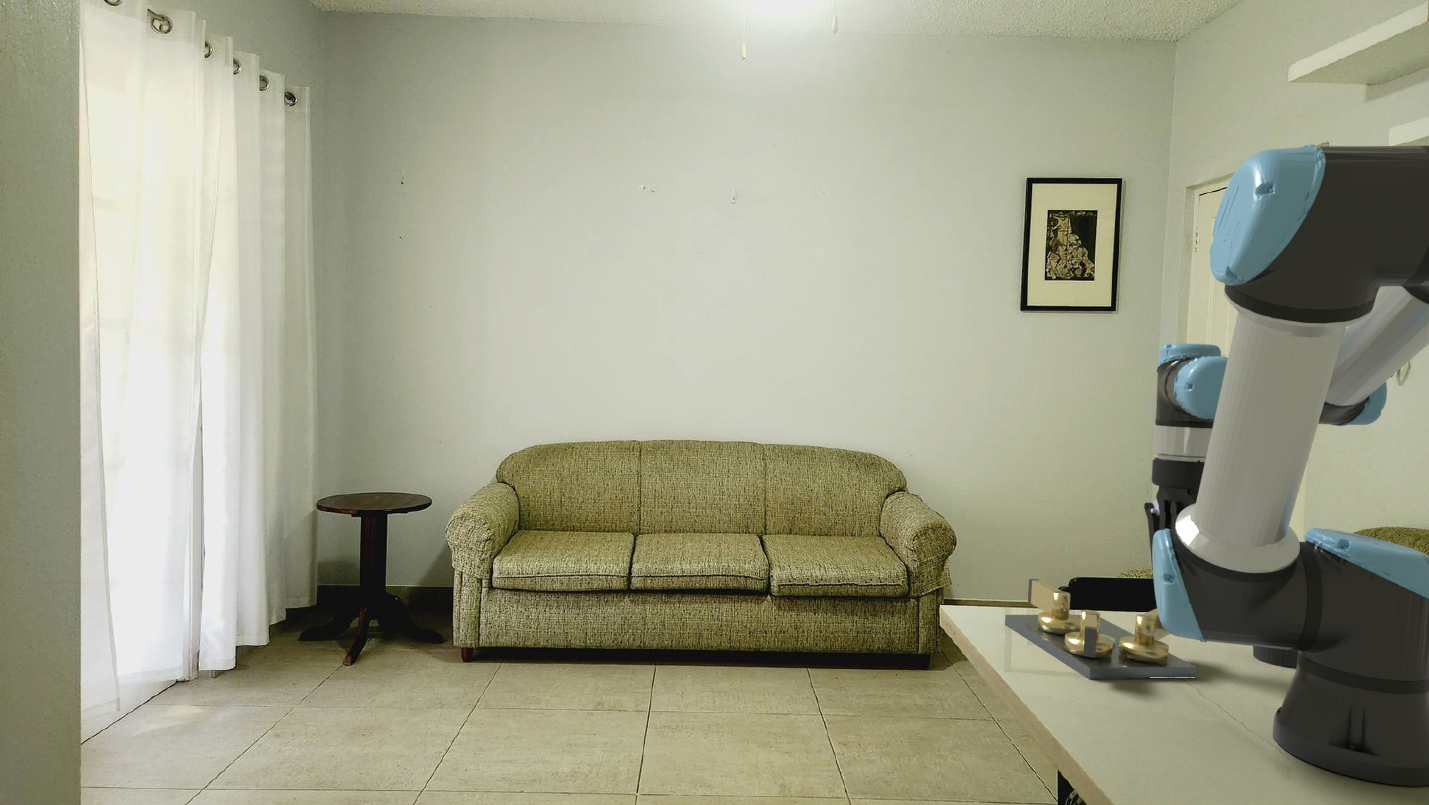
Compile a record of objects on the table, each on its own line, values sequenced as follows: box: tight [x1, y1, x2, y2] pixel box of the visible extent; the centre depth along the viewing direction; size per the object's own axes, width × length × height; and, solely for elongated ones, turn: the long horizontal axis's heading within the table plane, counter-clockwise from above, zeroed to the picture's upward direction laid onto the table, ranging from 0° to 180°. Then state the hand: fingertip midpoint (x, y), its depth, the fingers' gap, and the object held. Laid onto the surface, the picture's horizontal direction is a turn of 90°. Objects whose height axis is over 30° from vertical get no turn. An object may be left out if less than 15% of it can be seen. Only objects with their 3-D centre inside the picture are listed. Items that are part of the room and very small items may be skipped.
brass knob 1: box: [1027, 578, 1081, 634], centre depth 137 cm, size 12×6×5 cm, turn 8°
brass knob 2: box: [1064, 609, 1113, 658], centre depth 122 cm, size 12×6×5 cm, turn 158°
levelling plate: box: [1004, 614, 1198, 680], centre depth 131 cm, size 24×15×2 cm, turn 8°
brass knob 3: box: [1119, 607, 1171, 662], centre depth 125 cm, size 12×6×5 cm, turn 135°
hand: (1173, 630), depth 125 cm, fingers closed
